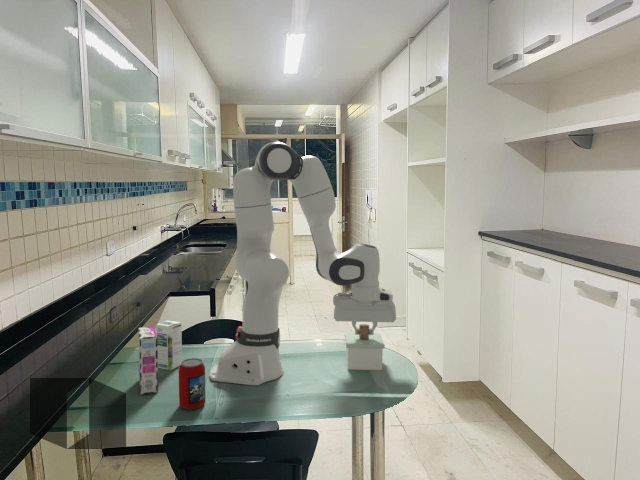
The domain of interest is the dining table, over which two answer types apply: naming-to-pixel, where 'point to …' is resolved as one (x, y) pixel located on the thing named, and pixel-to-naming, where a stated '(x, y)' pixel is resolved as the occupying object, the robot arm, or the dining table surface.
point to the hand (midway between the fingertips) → (364, 334)
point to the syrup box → (169, 344)
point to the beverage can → (191, 383)
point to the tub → (364, 358)
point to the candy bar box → (148, 360)
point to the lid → (364, 339)
